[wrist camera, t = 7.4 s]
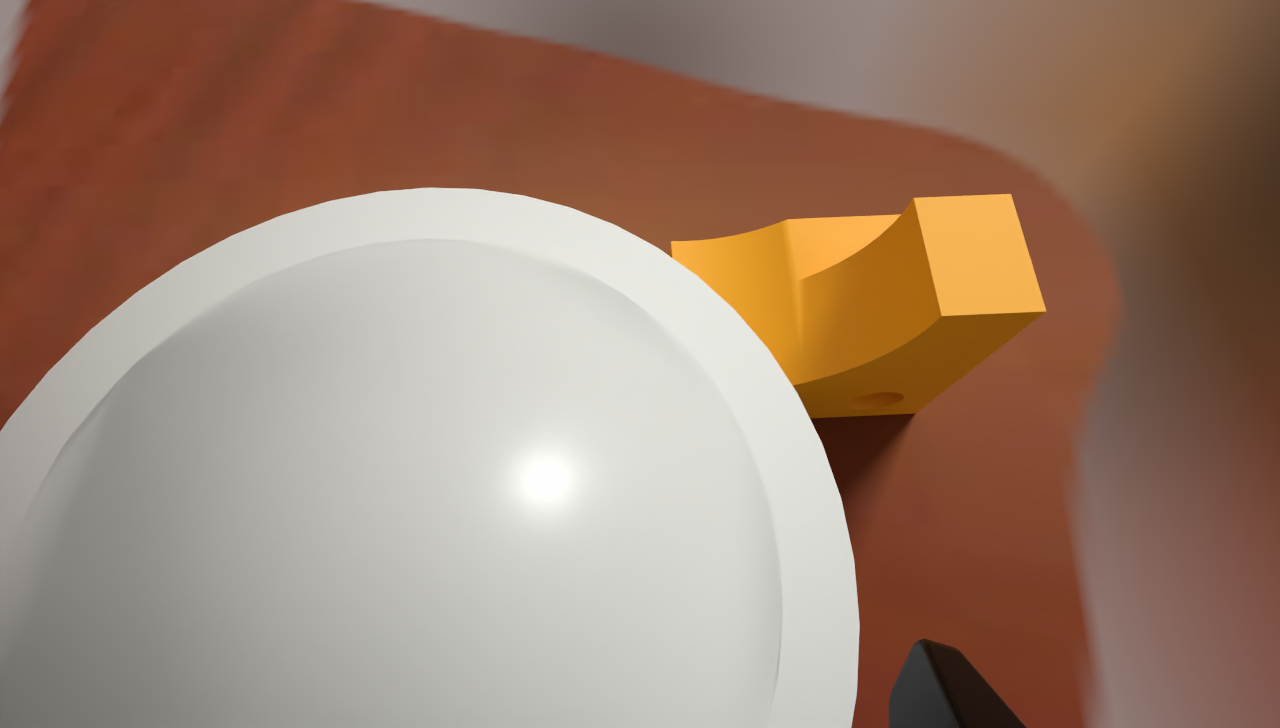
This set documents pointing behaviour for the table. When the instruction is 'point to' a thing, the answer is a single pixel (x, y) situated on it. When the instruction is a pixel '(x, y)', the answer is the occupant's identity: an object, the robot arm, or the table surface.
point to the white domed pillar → (423, 491)
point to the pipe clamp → (878, 298)
